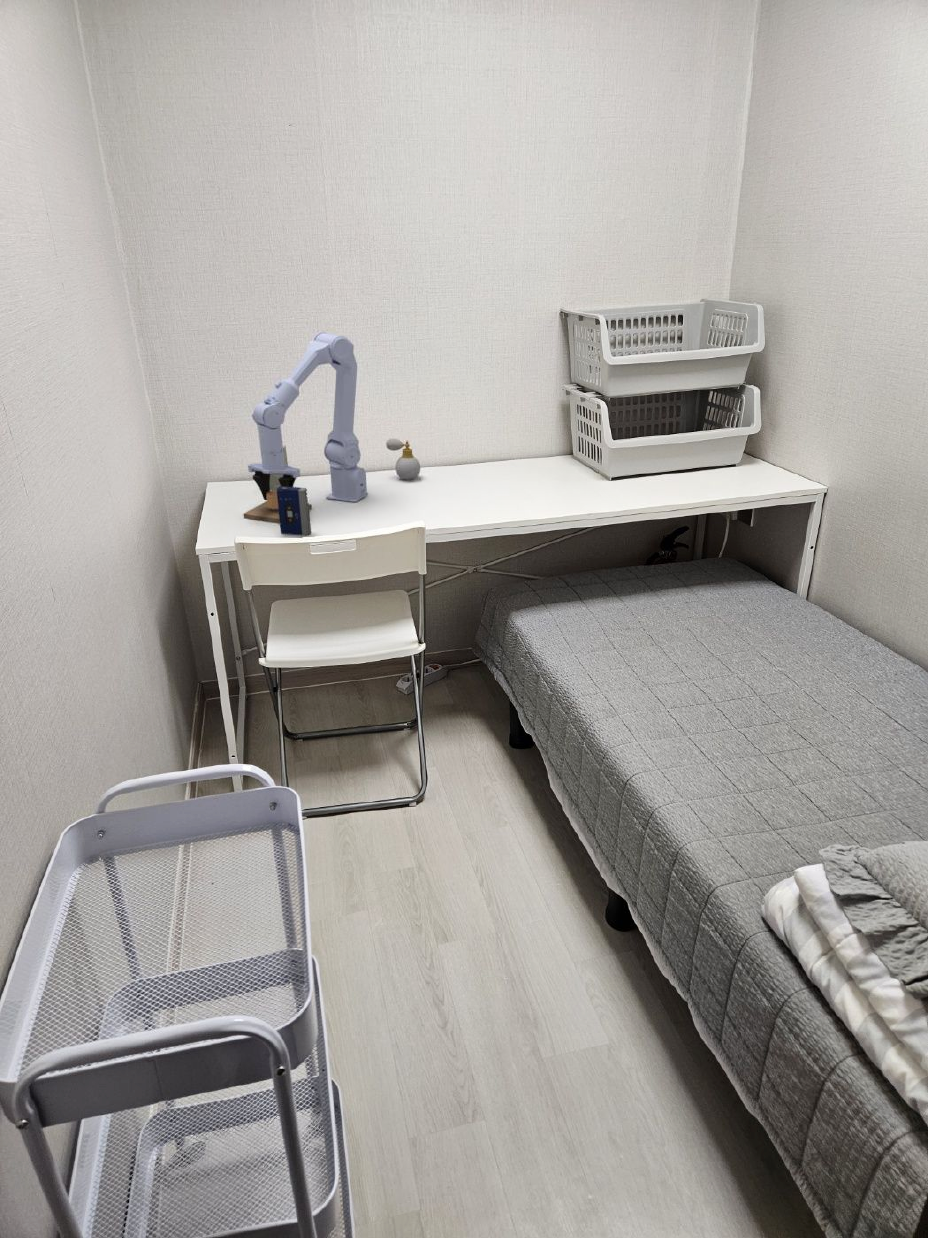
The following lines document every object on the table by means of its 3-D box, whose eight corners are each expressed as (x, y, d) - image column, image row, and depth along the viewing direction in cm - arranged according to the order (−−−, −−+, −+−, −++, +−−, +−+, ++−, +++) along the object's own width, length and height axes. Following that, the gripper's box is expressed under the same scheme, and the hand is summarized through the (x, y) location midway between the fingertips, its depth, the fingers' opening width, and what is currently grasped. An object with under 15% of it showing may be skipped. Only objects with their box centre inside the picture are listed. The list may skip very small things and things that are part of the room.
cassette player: (280, 533, 209) (275, 487, 203) (284, 530, 211) (279, 484, 205) (308, 535, 208) (304, 489, 202) (311, 532, 210) (307, 486, 204)
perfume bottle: (422, 481, 247) (421, 441, 242) (390, 483, 245) (388, 443, 240) (418, 474, 254) (417, 435, 248) (386, 476, 252) (385, 437, 246)
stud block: (312, 508, 226) (310, 490, 223) (286, 524, 215) (284, 505, 212) (270, 503, 230) (268, 484, 227) (244, 518, 219) (241, 499, 216)
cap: (287, 508, 219) (286, 495, 218) (267, 509, 218) (265, 496, 217) (287, 501, 224) (286, 489, 222) (268, 502, 223) (266, 490, 221)
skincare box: (290, 485, 243) (286, 445, 238) (286, 490, 240) (282, 449, 234) (269, 485, 244) (265, 444, 239) (265, 489, 240) (260, 448, 235)
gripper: (239, 451, 213) (245, 501, 219) (287, 457, 209) (292, 508, 215) (254, 444, 219) (260, 493, 225) (302, 449, 215) (306, 500, 221)
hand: (277, 500), depth 220 cm, fingers closed on cap, 6 cm apart
